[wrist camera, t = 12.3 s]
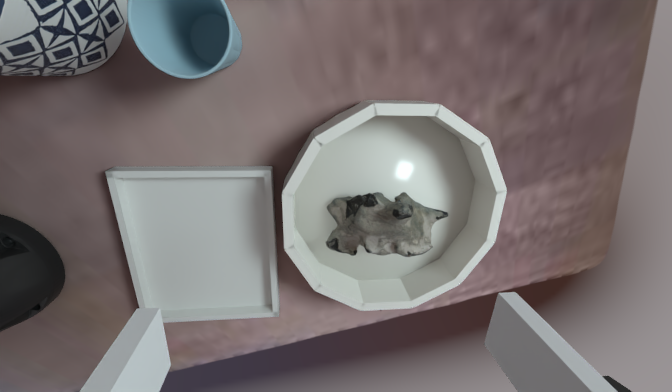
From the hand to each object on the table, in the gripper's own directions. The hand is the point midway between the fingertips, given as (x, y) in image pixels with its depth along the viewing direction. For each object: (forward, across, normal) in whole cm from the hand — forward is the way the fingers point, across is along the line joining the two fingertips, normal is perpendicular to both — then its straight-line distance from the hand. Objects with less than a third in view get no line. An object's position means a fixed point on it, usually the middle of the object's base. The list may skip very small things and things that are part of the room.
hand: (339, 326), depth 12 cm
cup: (+29, -10, +12) cm, 33 cm away
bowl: (+29, +10, -6) cm, 31 cm away
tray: (+29, -14, -13) cm, 35 cm away
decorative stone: (+28, +10, -7) cm, 30 cm away
